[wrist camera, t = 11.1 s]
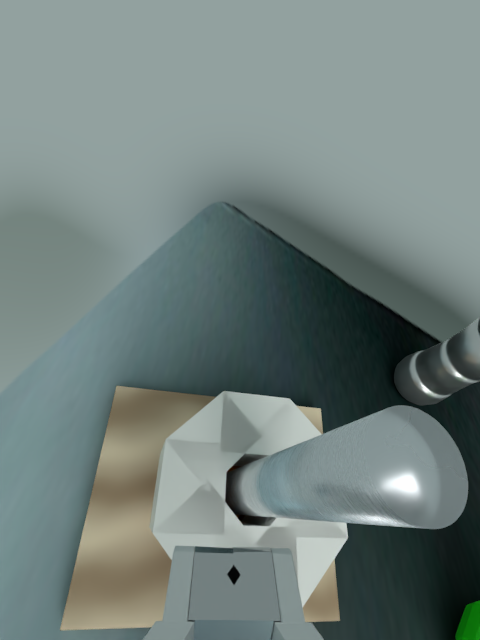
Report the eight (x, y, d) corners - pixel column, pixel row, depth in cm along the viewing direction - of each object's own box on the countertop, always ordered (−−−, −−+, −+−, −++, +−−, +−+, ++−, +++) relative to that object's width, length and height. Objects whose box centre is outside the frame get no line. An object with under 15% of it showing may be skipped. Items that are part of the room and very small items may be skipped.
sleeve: (304, 586, 25) (356, 611, 19) (140, 588, 22) (140, 617, 16) (296, 423, 31) (333, 403, 25) (166, 410, 28) (173, 384, 22)
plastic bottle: (378, 383, 42) (535, 302, 26) (399, 352, 46) (550, 262, 29) (418, 420, 41) (609, 360, 24) (437, 385, 45) (615, 312, 28)
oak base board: (331, 615, 29) (339, 620, 28) (63, 624, 25) (59, 630, 23) (314, 411, 38) (320, 408, 37) (117, 390, 34) (116, 385, 32)
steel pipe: (252, 537, 29) (566, 617, 8) (180, 535, 28) (317, 628, 6) (253, 459, 32) (477, 364, 11) (188, 454, 31) (298, 336, 10)
